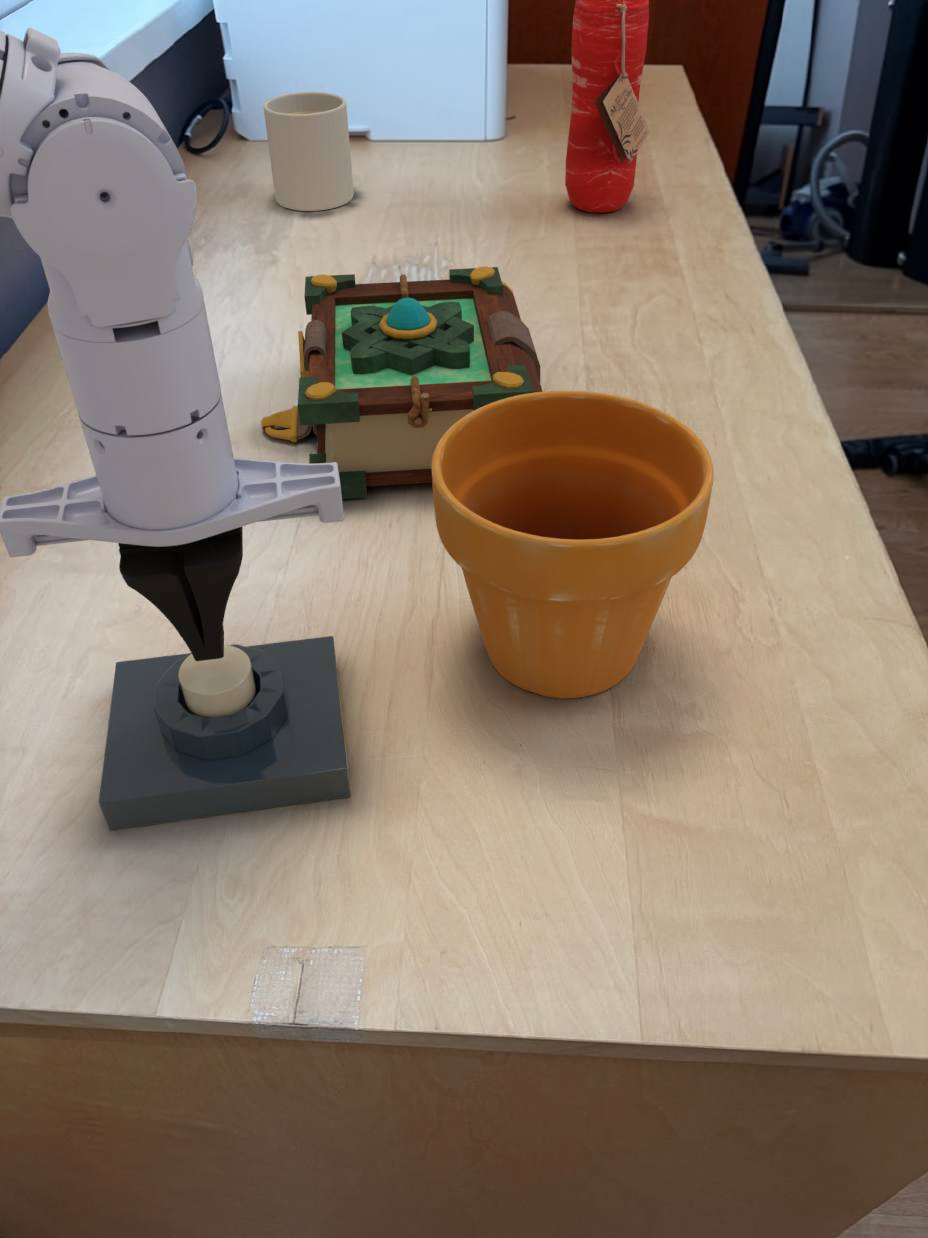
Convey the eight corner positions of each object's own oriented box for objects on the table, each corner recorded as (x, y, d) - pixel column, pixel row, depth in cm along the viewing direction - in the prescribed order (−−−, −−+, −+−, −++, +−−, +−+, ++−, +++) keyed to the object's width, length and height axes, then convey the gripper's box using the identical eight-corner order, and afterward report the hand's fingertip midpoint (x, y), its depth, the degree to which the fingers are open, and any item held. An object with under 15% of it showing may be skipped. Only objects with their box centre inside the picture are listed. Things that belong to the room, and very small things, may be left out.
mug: (294, 217, 114) (282, 119, 107) (261, 191, 120) (248, 97, 113) (382, 198, 118) (376, 102, 111) (347, 174, 124) (339, 82, 117)
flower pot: (441, 742, 55) (432, 548, 47) (437, 575, 66) (429, 392, 58) (705, 732, 56) (745, 537, 47) (658, 567, 66) (684, 384, 58)
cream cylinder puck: (183, 723, 52) (176, 698, 51) (186, 673, 55) (179, 648, 53) (256, 713, 52) (251, 688, 51) (255, 664, 55) (250, 640, 54)
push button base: (109, 831, 51) (88, 778, 49) (124, 689, 59) (107, 637, 56) (351, 797, 53) (344, 744, 50) (336, 663, 60) (330, 611, 58)
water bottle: (651, 227, 110) (681, -51, 93) (577, 232, 109) (593, -48, 93) (624, 188, 119) (646, -72, 102) (555, 192, 118) (566, -69, 102)
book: (272, 336, 92) (256, 222, 85) (509, 323, 93) (511, 210, 87) (254, 508, 72) (230, 378, 65) (555, 489, 73) (562, 359, 67)
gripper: (322, 340, 46) (349, 578, 55) (-17, 371, 44) (67, 611, 53) (334, 421, 41) (361, 670, 50) (-51, 459, 39) (49, 709, 48)
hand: (209, 646), depth 51 cm, fingers closed
